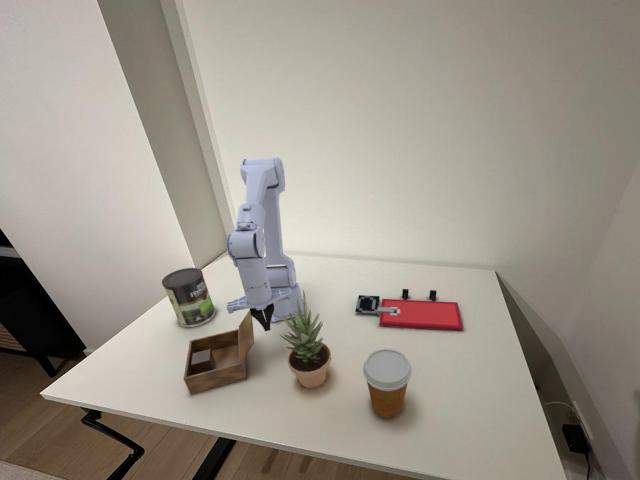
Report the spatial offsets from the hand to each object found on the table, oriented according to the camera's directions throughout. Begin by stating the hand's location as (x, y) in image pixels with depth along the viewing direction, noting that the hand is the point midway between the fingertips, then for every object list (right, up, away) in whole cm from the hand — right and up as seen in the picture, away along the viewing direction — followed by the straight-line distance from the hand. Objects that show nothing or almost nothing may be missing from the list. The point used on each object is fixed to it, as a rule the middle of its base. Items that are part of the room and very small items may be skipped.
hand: (267, 328), depth 78 cm
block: (-15, -10, -1) cm, 18 cm away
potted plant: (+12, -11, -3) cm, 17 cm away
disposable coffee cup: (+29, -15, -10) cm, 34 cm away
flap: (-5, -1, -1) cm, 5 cm away
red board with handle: (+36, +2, +16) cm, 40 cm away
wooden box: (-12, -10, +1) cm, 15 cm away
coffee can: (-27, 0, +18) cm, 32 cm away
